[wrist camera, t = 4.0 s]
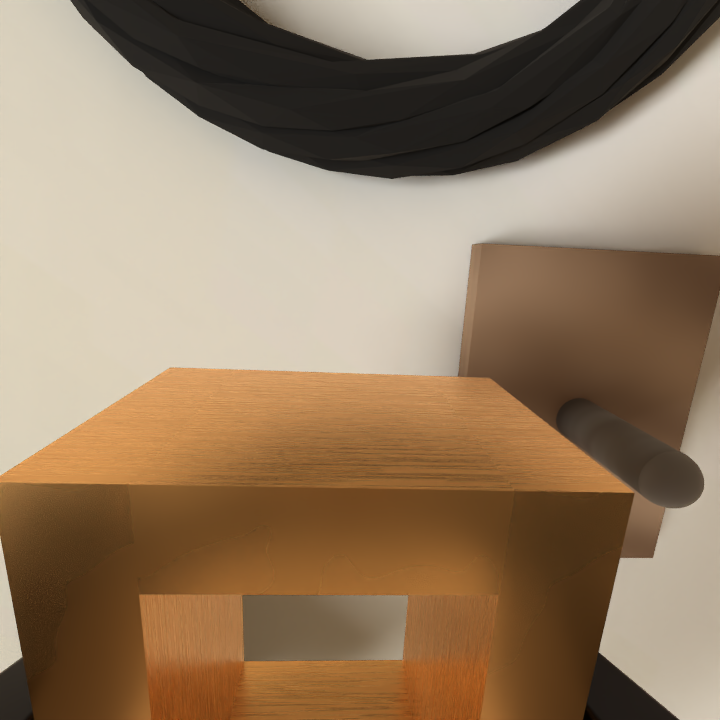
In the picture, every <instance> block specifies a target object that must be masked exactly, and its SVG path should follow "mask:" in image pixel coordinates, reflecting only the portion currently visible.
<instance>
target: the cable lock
mask: <svg viewBox="0 0 720 720" xmlns="http://www.w3.org/2000/svg"><path fill="white" fill-rule="evenodd" d="M71 2H72V3H73V4H74V6H75V7H76V9H77V10H78V11H79V13H80V14H81V16H82V17H83V18H84V19H85V20H86V21H87V22H88V23H89V24H90V25H91V26H92V27H93V28H94V29H95V30H96V31H97V32H98V33H99V34H100V35H101V36H102V37H103V38H104V39H105V40H106V41H107V42H108V43H110V44H111V45H112V46H113V47H114V48H115V49H116V50H117V51H118V52H119V53H120V54H121V55H122V56H123V57H124V58H125V59H126V60H127V61H128V62H129V63H130V64H131V65H132V66H133V67H135V68H137V69H138V70H140V71H142V72H143V73H144V74H145V75H146V77H147V78H149V79H150V80H151V81H153V82H154V83H155V84H157V85H158V86H159V87H161V88H162V89H163V90H165V91H166V92H167V93H169V94H170V95H171V96H173V97H174V98H175V99H177V100H178V101H179V102H180V103H182V104H183V105H184V106H186V107H187V108H188V109H190V110H191V111H192V112H194V113H195V114H196V115H198V116H199V117H201V118H203V119H205V120H207V121H209V122H211V123H212V124H214V125H216V126H218V127H220V128H222V129H224V130H226V131H228V132H230V133H232V134H234V135H236V136H238V137H240V138H242V139H244V140H246V141H248V142H249V143H251V144H253V145H255V146H257V147H259V148H261V149H264V150H267V151H269V152H272V153H275V154H278V155H281V156H284V157H287V158H291V159H294V160H297V161H300V162H303V163H306V164H309V165H312V166H316V167H319V168H322V169H325V170H328V171H336V172H344V173H352V174H359V175H367V176H375V177H382V178H390V179H394V178H400V177H407V176H430V175H456V174H461V173H465V172H470V171H474V170H478V169H483V168H487V167H492V166H496V165H501V164H505V163H510V162H514V161H517V160H519V159H521V158H523V157H525V156H527V155H529V154H531V153H533V152H535V151H537V150H539V149H541V148H543V147H545V146H547V145H549V144H551V143H553V142H555V141H557V140H559V139H561V138H563V137H565V136H567V135H569V134H571V133H573V132H575V131H578V130H580V129H582V128H584V127H585V126H587V125H589V124H591V123H593V122H595V121H597V120H598V119H600V118H601V117H602V116H603V115H604V114H605V113H607V112H608V111H609V110H610V109H612V108H613V107H615V106H616V105H618V104H619V103H620V102H622V101H623V100H625V99H626V98H628V97H629V96H631V95H632V94H634V93H635V92H637V91H638V90H640V89H641V88H642V87H644V86H645V85H647V84H648V83H650V82H651V81H653V80H654V79H656V78H657V77H659V76H660V75H661V74H662V73H663V72H664V71H665V70H666V69H668V68H669V67H670V66H671V65H672V64H673V63H674V62H675V61H676V60H677V59H678V58H679V57H680V56H681V55H682V54H683V53H684V52H685V51H686V50H687V49H688V48H689V47H690V46H691V45H692V44H693V43H694V42H695V41H696V40H697V39H698V38H699V37H700V36H701V35H702V34H703V33H704V32H705V31H706V30H707V29H708V28H709V27H710V26H711V25H712V24H713V23H714V22H715V21H716V20H717V19H718V18H719V17H720V0H580V1H579V2H578V3H576V4H575V5H574V6H573V7H571V8H570V9H569V10H567V11H566V12H565V13H564V14H562V15H561V16H560V17H559V18H557V19H556V20H555V21H553V22H552V23H551V24H550V25H548V26H547V27H546V28H544V29H542V30H541V31H538V32H535V33H532V34H529V35H526V36H524V37H521V38H518V39H515V40H512V41H509V42H507V43H504V44H501V45H498V46H495V47H492V48H489V49H487V50H484V51H481V52H478V53H475V54H465V55H447V56H429V57H411V58H393V59H375V60H366V59H363V58H361V57H358V56H355V55H352V54H350V53H347V52H344V51H341V50H338V49H336V48H333V47H330V46H327V45H325V44H322V43H319V42H316V41H314V40H311V39H308V38H305V37H303V36H300V35H297V34H294V33H291V32H289V31H286V30H283V29H280V28H278V27H275V26H272V25H269V24H267V23H266V22H265V21H264V20H263V19H261V18H260V17H259V16H258V15H256V14H255V13H254V12H253V11H251V10H250V9H249V8H248V7H246V6H245V5H244V4H243V3H241V2H240V1H239V0H71Z"/></svg>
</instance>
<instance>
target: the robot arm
mask: <svg viewBox="0 0 720 720" xmlns="http://www.w3.org/2000/svg"><path fill="white" fill-rule="evenodd" d="M0 720H34V716H33V710H32V705H31V699H30V694H29V689H28V683H27V678H26V672H25V667H24V662H23V657H22V658H20V659H19V660H18V661H16V662H15V663H14V664H12V665H11V666H9V667H8V668H7V669H5V670H4V671H3V672H1V673H0ZM583 720H679V719H678V718H677V717H676V716H674V715H673V714H672V713H671V712H670V711H668V710H667V709H666V708H665V707H664V706H662V705H661V704H660V703H659V702H658V701H656V700H655V699H654V698H653V697H652V696H650V695H649V694H648V693H647V692H646V691H644V690H643V689H642V688H641V687H640V686H638V685H637V684H636V683H635V682H634V681H632V680H631V679H630V678H629V677H628V676H627V675H625V674H624V673H623V672H622V671H621V670H619V669H618V668H617V667H616V666H615V665H613V664H612V663H611V662H610V661H609V660H607V659H606V658H605V657H604V656H603V655H601V654H600V653H599V652H598V655H597V660H596V664H595V669H594V673H593V677H592V682H591V686H590V690H589V695H588V699H587V703H586V708H585V712H584V716H583Z"/></svg>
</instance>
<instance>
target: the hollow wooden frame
mask: <svg viewBox="0 0 720 720" xmlns="http://www.w3.org/2000/svg"><path fill="white" fill-rule="evenodd" d="M634 494H635V493H634V492H633V491H632V490H631V489H629V488H628V487H627V486H626V485H624V484H623V483H622V482H621V481H619V480H618V479H617V478H615V477H614V476H613V475H612V474H610V473H609V472H608V471H607V470H605V469H604V468H603V467H602V466H600V465H599V464H598V463H597V462H595V461H594V460H593V459H591V458H590V457H589V456H588V455H586V454H585V453H584V452H583V451H581V450H580V449H579V448H578V447H576V446H575V445H574V444H573V443H571V442H570V441H569V440H568V439H566V438H565V437H564V436H562V435H561V434H560V433H559V432H557V431H556V430H555V429H554V428H552V427H551V426H550V425H549V424H547V423H546V422H545V421H544V420H542V419H541V418H540V417H538V416H537V415H536V414H535V413H533V412H532V411H531V410H530V409H528V408H527V407H526V406H525V405H523V404H522V403H521V402H520V401H518V400H517V399H516V398H514V397H513V396H512V395H511V394H509V393H508V392H507V391H506V390H504V389H503V388H502V387H501V386H499V385H498V384H497V383H496V382H494V381H493V380H492V379H490V378H478V377H447V376H416V375H385V374H354V373H323V372H293V371H262V370H231V369H200V368H169V369H167V370H166V371H164V372H163V373H161V374H160V375H158V376H156V377H155V378H153V379H152V380H150V381H149V382H147V383H145V384H144V385H142V386H141V387H139V388H138V389H136V390H134V391H133V392H131V393H130V394H128V395H127V396H125V397H123V398H122V399H120V400H119V401H117V402H116V403H114V404H112V405H111V406H109V407H108V408H106V409H104V410H103V411H101V412H100V413H98V414H97V415H95V416H93V417H92V418H90V419H89V420H87V421H86V422H84V423H82V424H81V425H79V426H78V427H76V428H75V429H73V430H71V431H70V432H68V433H67V434H65V435H64V436H62V437H60V438H59V439H57V440H56V441H54V442H53V443H51V444H49V445H48V446H46V447H45V448H43V449H42V450H40V451H38V452H37V453H35V454H34V455H32V456H31V457H29V458H27V459H26V460H24V461H23V462H21V463H20V464H18V465H16V466H15V467H13V468H12V469H10V470H9V471H7V472H5V473H4V474H2V475H1V476H0V537H1V543H2V548H3V553H4V559H5V564H6V570H7V575H8V581H9V586H10V591H11V597H12V602H13V608H14V613H15V618H16V624H17V629H18V635H19V640H20V645H21V651H22V656H23V662H24V667H25V672H26V678H27V683H28V689H29V694H30V699H31V705H32V710H33V716H34V720H583V716H584V712H585V708H586V703H587V699H588V695H589V690H590V686H591V682H592V677H593V673H594V669H595V664H596V660H597V655H598V651H599V647H600V642H601V638H602V634H603V629H604V625H605V621H606V616H607V612H608V608H609V603H610V599H611V594H612V590H613V586H614V581H615V577H616V573H617V568H618V564H619V560H620V555H621V551H622V547H623V542H624V538H625V533H626V529H627V525H628V520H629V516H630V512H631V507H632V503H633V499H634ZM242 595H408V606H407V617H406V629H405V640H404V651H403V660H356V661H244V642H243V603H242Z"/></svg>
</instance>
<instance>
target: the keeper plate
mask: <svg viewBox="0 0 720 720" xmlns="http://www.w3.org/2000/svg"><path fill="white" fill-rule="evenodd" d="M719 291H720V256H713V255H693V254H674V253H655V252H635V251H616V250H597V249H577V248H558V247H538V246H519V245H500V244H474V245H472V251H471V260H470V270H469V279H468V288H467V298H466V307H465V316H464V326H463V335H462V344H461V354H460V363H459V372H458V377H478V378H490V379H492V380H493V381H494V382H496V383H497V384H498V385H499V386H501V387H502V388H503V389H504V390H506V391H507V392H508V393H509V394H511V395H512V396H513V397H514V398H516V399H517V400H518V401H520V402H521V403H522V404H523V405H525V406H526V407H527V408H528V409H530V410H531V411H532V412H533V413H535V414H536V415H537V416H538V417H540V418H541V419H542V420H544V421H545V422H546V423H547V424H549V425H550V426H551V427H552V428H554V429H555V430H556V431H557V432H559V433H560V434H561V435H562V436H564V437H565V438H566V439H568V440H569V441H570V442H571V443H573V444H574V445H575V446H576V447H578V448H579V449H580V450H581V451H583V452H584V453H585V454H586V455H588V456H589V457H590V458H591V459H593V460H594V461H595V462H597V463H598V464H599V465H600V466H602V467H603V468H604V469H605V470H607V471H608V472H609V473H610V474H612V475H613V476H614V477H615V478H617V479H618V480H619V481H621V482H622V483H623V484H624V485H626V486H627V487H628V488H629V489H631V490H632V491H633V492H634V493H635V494H634V499H633V503H632V507H631V512H630V516H629V520H628V525H627V529H626V533H625V538H624V542H623V547H622V551H621V555H620V558H653V555H654V551H655V547H656V543H657V539H658V535H659V531H660V527H661V523H662V519H663V515H664V511H665V507H666V508H682V507H686V506H689V505H691V504H692V503H694V502H695V501H696V500H697V499H698V498H699V497H700V496H701V494H702V492H703V489H704V478H703V474H702V472H701V470H700V468H699V467H698V465H697V464H696V463H695V462H694V461H693V460H692V459H691V458H690V457H688V456H687V455H685V454H683V453H681V452H680V447H681V443H682V439H683V435H684V431H685V427H686V423H687V419H688V415H689V411H690V407H691V403H692V399H693V395H694V391H695V387H696V383H697V379H698V375H699V371H700V367H701V363H702V359H703V355H704V351H705V347H706V343H707V339H708V335H709V331H710V327H711V323H712V319H713V315H714V311H715V307H716V303H717V299H718V295H719Z"/></svg>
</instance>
